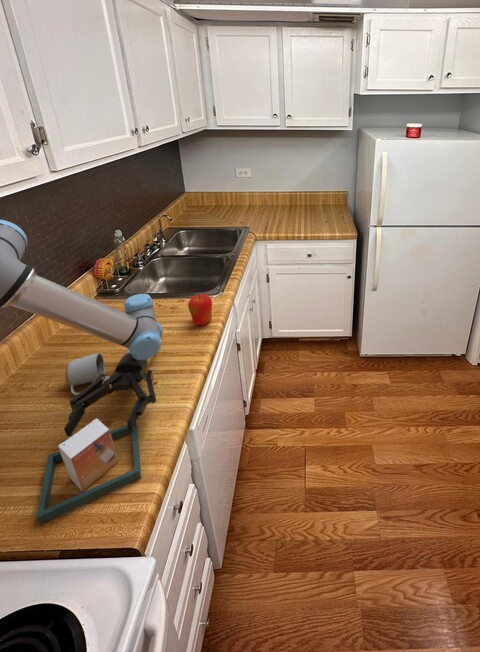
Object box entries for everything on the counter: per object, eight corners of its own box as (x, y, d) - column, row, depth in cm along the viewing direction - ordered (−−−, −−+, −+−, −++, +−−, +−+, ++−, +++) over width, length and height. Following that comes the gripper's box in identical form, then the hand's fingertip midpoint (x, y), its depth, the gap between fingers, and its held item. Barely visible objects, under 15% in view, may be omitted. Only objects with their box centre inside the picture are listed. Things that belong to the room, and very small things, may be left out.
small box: (82, 493, 71) (69, 460, 67) (69, 478, 73) (56, 445, 69) (119, 461, 77) (109, 429, 73) (106, 448, 80) (96, 417, 76)
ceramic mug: (75, 374, 101) (68, 354, 98) (106, 366, 104) (100, 347, 101) (65, 402, 92) (57, 381, 89) (99, 393, 95) (93, 373, 92)
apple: (187, 321, 126) (183, 294, 121) (208, 312, 131) (204, 286, 127) (196, 332, 120) (192, 304, 115) (218, 322, 125) (215, 295, 121)
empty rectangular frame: (39, 524, 65) (36, 517, 64) (51, 461, 77) (48, 455, 76) (141, 477, 74) (139, 471, 73) (138, 427, 85) (136, 420, 84)
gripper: (85, 355, 94) (35, 423, 74) (177, 349, 96) (152, 412, 77) (91, 375, 96) (45, 446, 77) (180, 369, 99) (157, 435, 80)
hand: (98, 429), depth 77 cm, fingers open, 13 cm apart
